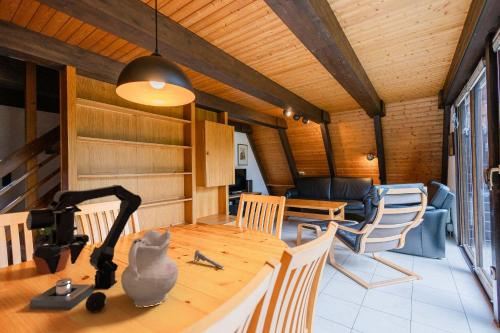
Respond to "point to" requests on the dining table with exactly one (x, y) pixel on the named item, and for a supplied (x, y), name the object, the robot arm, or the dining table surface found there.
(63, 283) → the grey cylinder
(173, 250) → the dining table surface
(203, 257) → the caliper
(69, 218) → the robot arm
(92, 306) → the billiard ball
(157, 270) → the ceramic pitcher
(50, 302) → the jig
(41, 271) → the potted plant
